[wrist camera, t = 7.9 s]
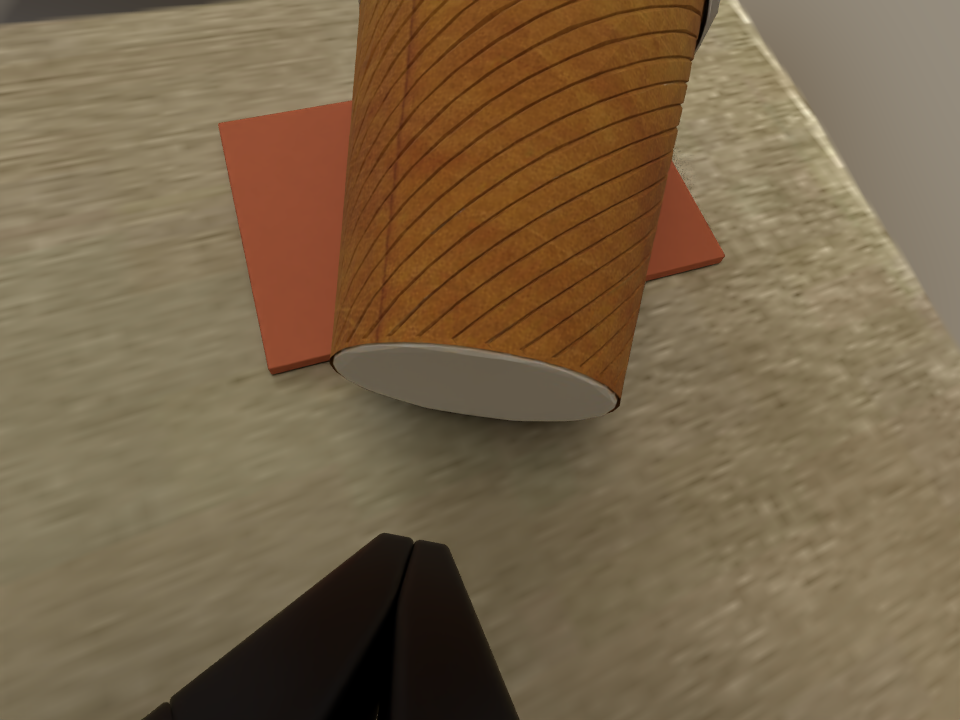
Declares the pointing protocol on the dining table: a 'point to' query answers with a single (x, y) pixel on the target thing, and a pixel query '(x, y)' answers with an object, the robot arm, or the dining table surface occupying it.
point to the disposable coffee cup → (506, 197)
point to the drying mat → (318, 224)
